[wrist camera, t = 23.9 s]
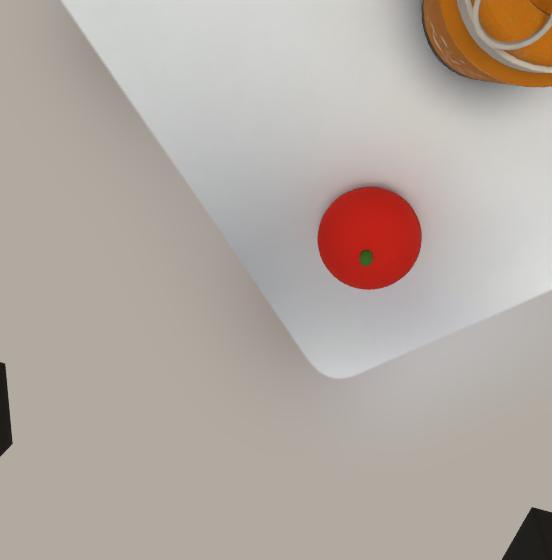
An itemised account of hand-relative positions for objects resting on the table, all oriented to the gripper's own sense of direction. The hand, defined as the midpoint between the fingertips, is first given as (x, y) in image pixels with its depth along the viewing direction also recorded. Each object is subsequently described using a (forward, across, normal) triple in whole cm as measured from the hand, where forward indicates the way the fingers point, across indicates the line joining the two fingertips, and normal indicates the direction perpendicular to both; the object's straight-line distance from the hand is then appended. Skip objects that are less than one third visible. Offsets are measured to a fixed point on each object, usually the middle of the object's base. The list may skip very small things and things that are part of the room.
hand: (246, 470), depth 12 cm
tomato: (+28, +3, -2) cm, 28 cm away
